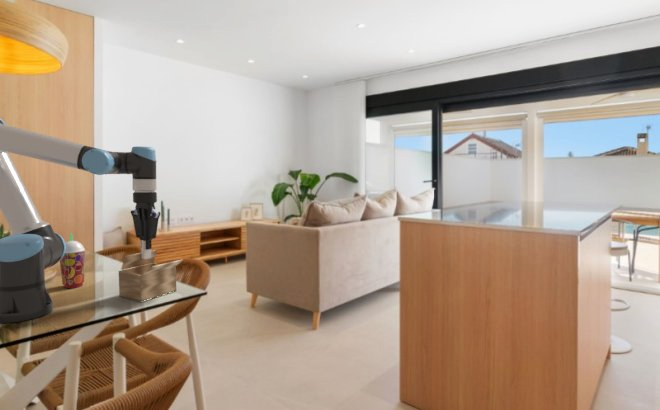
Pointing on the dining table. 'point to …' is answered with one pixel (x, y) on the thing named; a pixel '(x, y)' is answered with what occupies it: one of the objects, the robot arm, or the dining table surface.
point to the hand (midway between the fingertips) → (146, 258)
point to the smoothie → (73, 264)
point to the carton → (146, 282)
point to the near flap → (163, 267)
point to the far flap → (137, 260)
